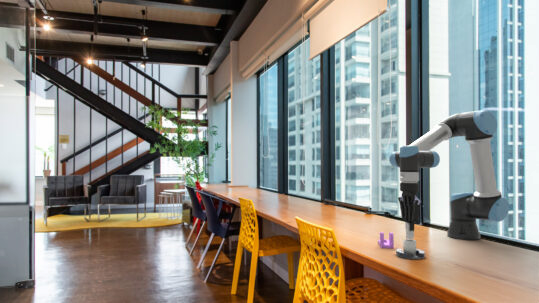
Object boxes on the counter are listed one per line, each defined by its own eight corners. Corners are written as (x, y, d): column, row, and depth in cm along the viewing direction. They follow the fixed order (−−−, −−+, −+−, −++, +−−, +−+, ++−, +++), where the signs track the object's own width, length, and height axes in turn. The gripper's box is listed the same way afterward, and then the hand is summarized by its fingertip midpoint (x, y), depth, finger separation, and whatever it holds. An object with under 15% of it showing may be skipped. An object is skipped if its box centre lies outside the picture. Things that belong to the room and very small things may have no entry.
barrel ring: (413, 251, 155) (413, 247, 155) (430, 258, 144) (430, 253, 144) (390, 253, 152) (390, 248, 152) (406, 260, 141) (406, 255, 141)
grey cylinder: (411, 252, 151) (410, 238, 151) (418, 255, 146) (418, 240, 146) (401, 253, 150) (400, 238, 150) (408, 256, 145) (408, 241, 145)
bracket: (393, 248, 161) (393, 233, 161) (380, 248, 162) (380, 232, 162) (389, 242, 173) (389, 228, 174) (377, 241, 174) (377, 227, 175)
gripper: (392, 181, 154) (393, 235, 153) (411, 183, 141) (412, 242, 141) (407, 181, 156) (407, 234, 155) (427, 182, 143) (428, 240, 143)
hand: (410, 238), depth 148 cm, fingers closed
